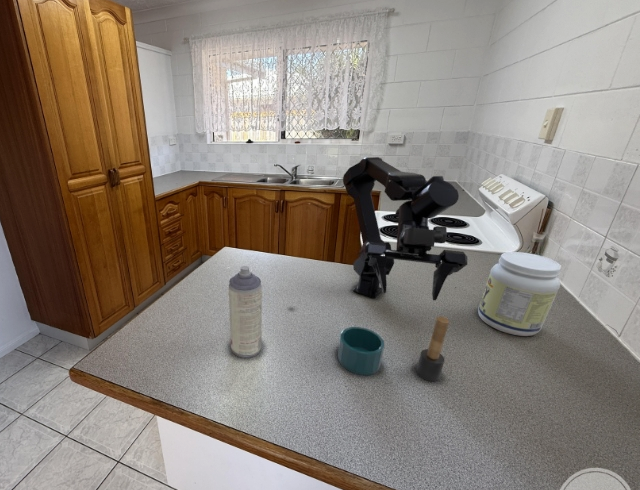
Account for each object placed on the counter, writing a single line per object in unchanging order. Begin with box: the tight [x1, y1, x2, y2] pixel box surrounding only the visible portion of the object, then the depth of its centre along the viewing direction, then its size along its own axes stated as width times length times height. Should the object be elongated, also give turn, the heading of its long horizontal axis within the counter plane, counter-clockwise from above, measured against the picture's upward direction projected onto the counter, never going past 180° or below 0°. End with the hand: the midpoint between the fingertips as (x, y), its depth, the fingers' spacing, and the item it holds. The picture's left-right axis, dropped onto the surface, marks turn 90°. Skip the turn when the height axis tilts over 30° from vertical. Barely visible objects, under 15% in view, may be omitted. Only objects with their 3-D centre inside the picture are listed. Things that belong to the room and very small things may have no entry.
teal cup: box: [337, 326, 385, 376], centre depth 65 cm, size 8×8×6 cm
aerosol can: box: [228, 265, 263, 359], centre depth 66 cm, size 7×7×20 cm
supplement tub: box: [477, 251, 562, 337], centre depth 74 cm, size 12×12×17 cm
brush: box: [415, 316, 450, 382], centre depth 60 cm, size 4×4×13 cm
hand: (408, 296), depth 63 cm, fingers open, 9 cm apart
